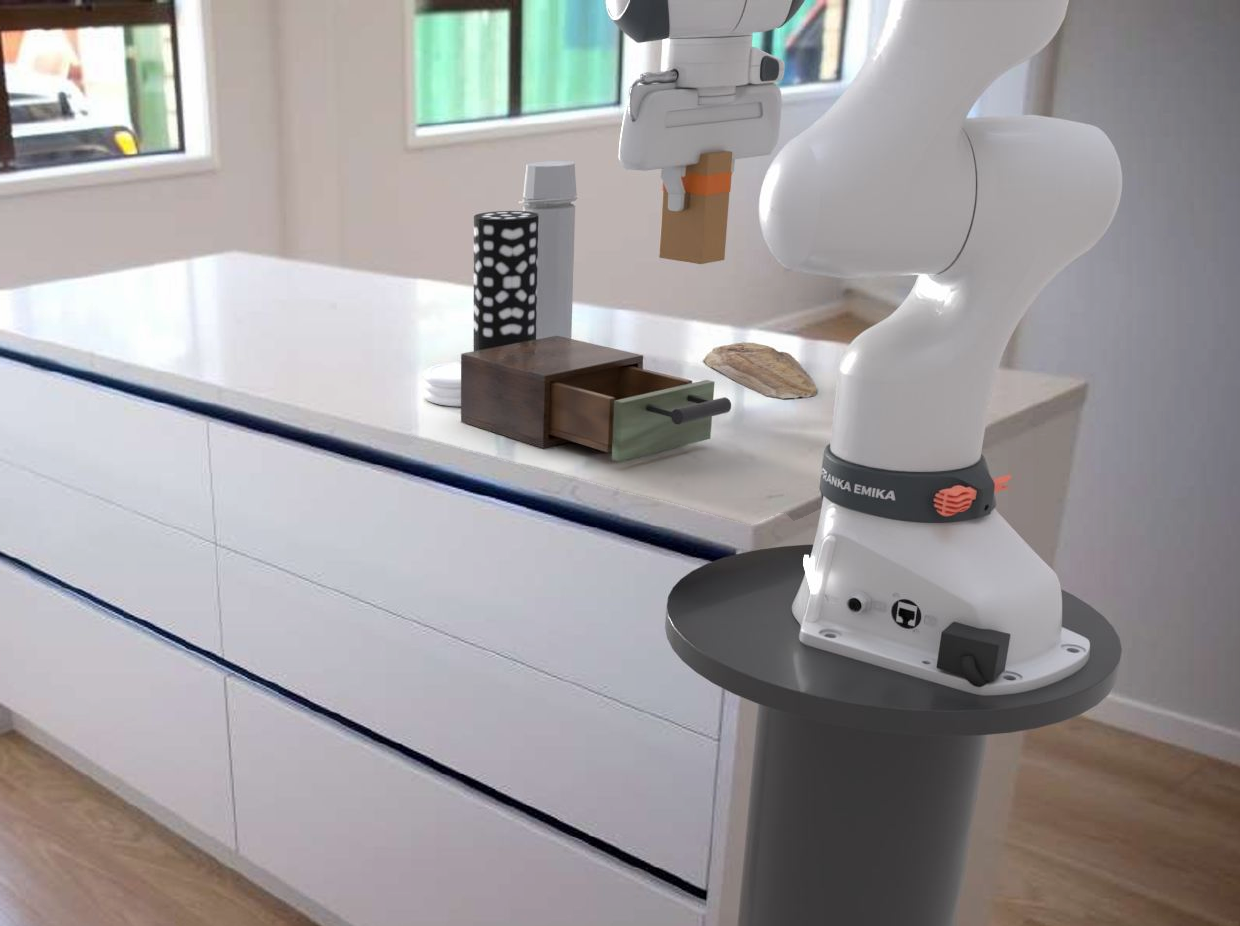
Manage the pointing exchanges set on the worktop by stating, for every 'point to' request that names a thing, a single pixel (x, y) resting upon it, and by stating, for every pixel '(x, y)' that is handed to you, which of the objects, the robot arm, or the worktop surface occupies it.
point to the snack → (699, 212)
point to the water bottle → (553, 242)
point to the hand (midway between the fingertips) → (695, 207)
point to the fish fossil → (762, 370)
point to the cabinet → (528, 383)
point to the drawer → (632, 411)
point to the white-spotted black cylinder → (505, 278)
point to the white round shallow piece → (443, 384)
